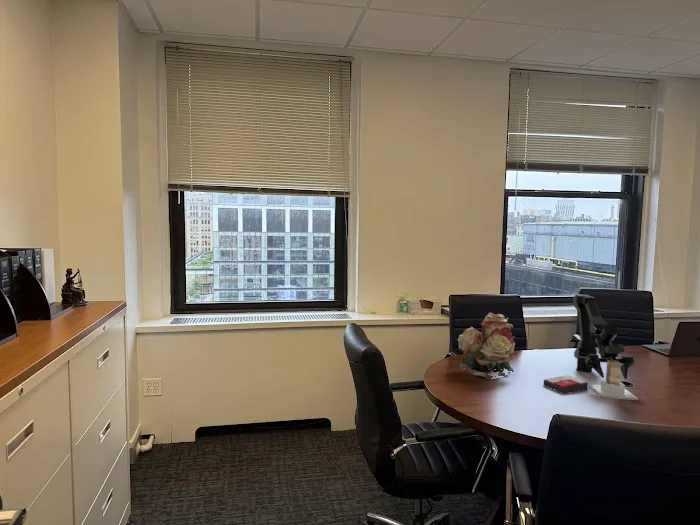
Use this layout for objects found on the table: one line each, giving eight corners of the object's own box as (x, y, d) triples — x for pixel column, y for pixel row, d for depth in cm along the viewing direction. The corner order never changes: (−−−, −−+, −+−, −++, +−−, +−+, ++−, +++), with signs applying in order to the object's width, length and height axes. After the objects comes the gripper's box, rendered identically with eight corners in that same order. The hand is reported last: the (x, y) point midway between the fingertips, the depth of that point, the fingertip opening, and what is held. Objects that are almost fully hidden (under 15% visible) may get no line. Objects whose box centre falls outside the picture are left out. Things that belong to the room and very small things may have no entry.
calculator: (543, 378, 199) (568, 373, 204) (543, 387, 199) (568, 382, 204) (562, 386, 188) (588, 381, 194) (562, 395, 189) (588, 390, 194)
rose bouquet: (449, 366, 224) (452, 309, 222) (497, 362, 234) (499, 307, 232) (479, 383, 200) (482, 319, 198) (531, 377, 209) (534, 316, 207)
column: (605, 388, 193) (606, 360, 192) (615, 389, 192) (617, 360, 191) (609, 391, 189) (611, 362, 188) (619, 392, 188) (621, 363, 187)
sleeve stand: (588, 386, 198) (589, 374, 198) (621, 388, 196) (622, 376, 196) (601, 397, 185) (602, 385, 184) (637, 400, 183) (638, 387, 182)
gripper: (589, 336, 194) (597, 368, 184) (634, 338, 192) (645, 371, 181) (581, 349, 202) (589, 380, 192) (624, 351, 200) (634, 383, 190)
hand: (614, 378), depth 189 cm, fingers open, 9 cm apart
